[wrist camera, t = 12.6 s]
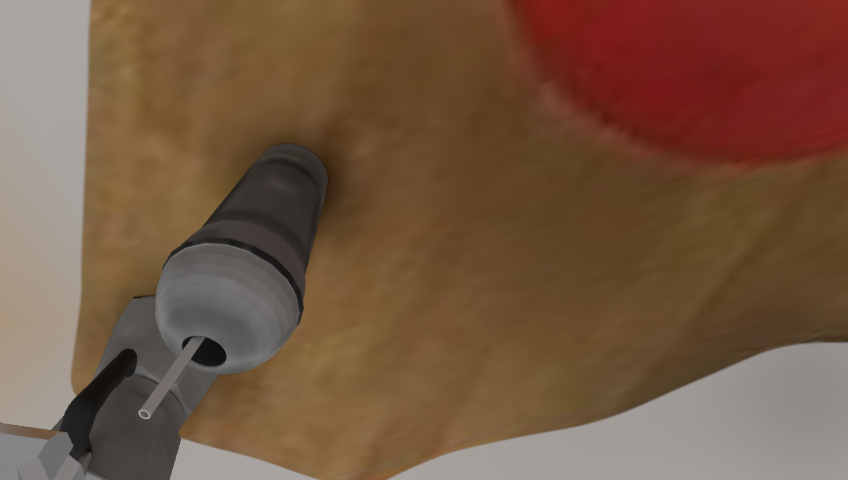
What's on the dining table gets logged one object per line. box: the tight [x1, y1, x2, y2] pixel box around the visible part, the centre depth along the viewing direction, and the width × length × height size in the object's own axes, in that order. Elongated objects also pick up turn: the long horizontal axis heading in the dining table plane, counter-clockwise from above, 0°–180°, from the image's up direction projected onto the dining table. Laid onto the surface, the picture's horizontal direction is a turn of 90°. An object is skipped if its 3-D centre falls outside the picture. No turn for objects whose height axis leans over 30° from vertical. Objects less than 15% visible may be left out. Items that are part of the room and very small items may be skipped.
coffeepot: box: [51, 295, 219, 480], centre depth 48 cm, size 15×9×18 cm, turn 167°
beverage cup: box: [138, 144, 328, 419], centre depth 37 cm, size 7×7×20 cm
